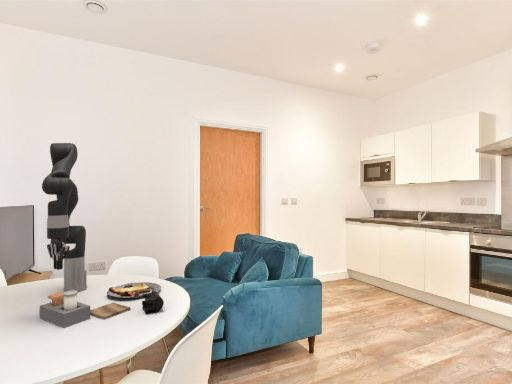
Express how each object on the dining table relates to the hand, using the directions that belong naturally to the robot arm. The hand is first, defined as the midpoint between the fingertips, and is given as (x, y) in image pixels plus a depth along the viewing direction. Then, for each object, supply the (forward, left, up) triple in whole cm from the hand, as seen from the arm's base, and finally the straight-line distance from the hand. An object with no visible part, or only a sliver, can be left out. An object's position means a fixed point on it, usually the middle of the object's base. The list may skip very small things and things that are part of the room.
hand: (58, 268), depth 126 cm
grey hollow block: (0, +5, -19) cm, 20 cm away
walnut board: (-13, +14, -19) cm, 27 cm away
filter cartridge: (0, +9, -19) cm, 21 cm away
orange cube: (0, 0, -15) cm, 15 cm away
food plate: (-35, +2, -20) cm, 40 cm away
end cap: (-24, +28, -19) cm, 42 cm away
